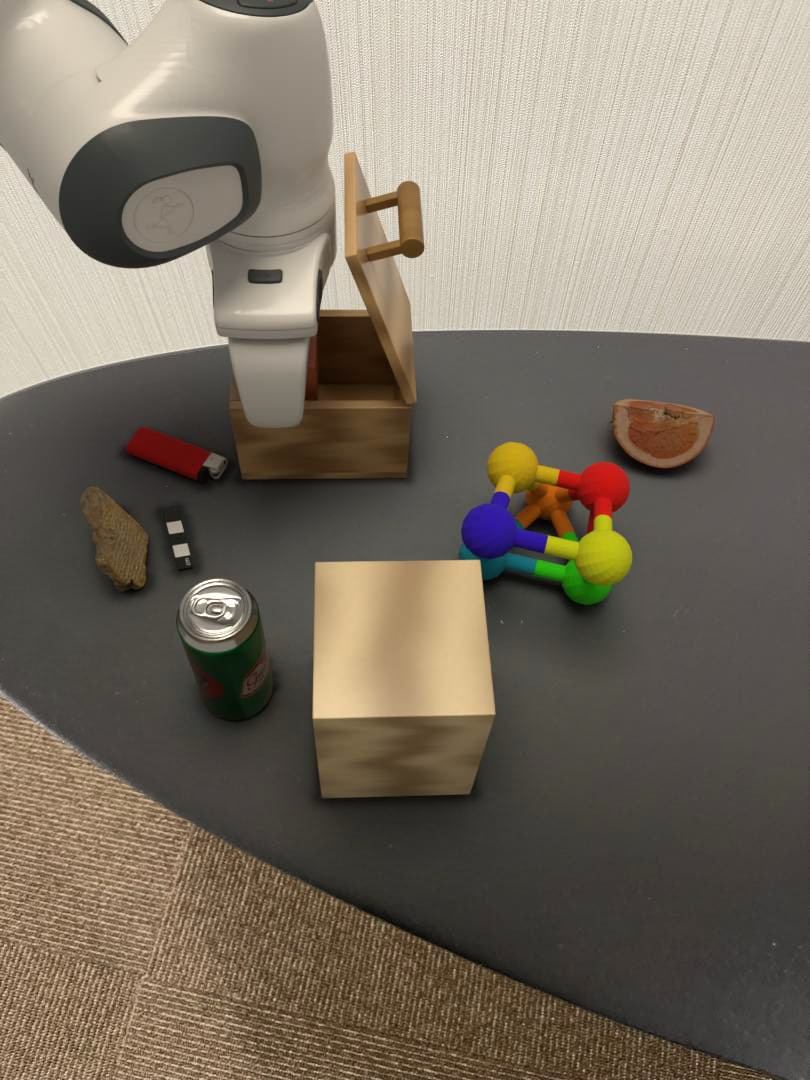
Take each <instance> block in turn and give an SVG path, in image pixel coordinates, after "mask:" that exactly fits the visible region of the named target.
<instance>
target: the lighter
mask: <svg viewBox="0 0 810 1080" xmlns="http://www.w3.org/2000/svg"><path fill="white" fill-rule="evenodd" d="M125 450H126V453H127V454H128V455H130V456H134V457H136V458H139V459H142V460H144V461H146V462H148V463H151V464H154V465H156V466H159V467H162V468H164V469H167V470H169V471H172V472H174V473H176V474H179V475H181V476H184V477H187V478H189V479H192V480H194V481H196V482H200V483H203V484H205V483H207V482H208V480H209V479H210V478H212V479H214V480H218V479H220V477H221V476H222V474H223V473H224V472H225V470H226V468H227V466H228V462H229V461H228V458H227V457H224V456H222V455H219V454H217V453H214V452H212V451H209V450H207V449H204V448H201V447H199V446H196V445H193V444H191V443H188V442H186V441H184V440H181V439H178V438H176V437H173V436H170V435H168V434H165V433H162V432H159V431H156V430H154V429H152V428H150V427H147V426H144V425H143V426H140V427H139V429H138V430H136V432H135V434H134V435H133V436H132V437H131V438H130V440H129V441H128V443H127V445H126V448H125Z"/></svg>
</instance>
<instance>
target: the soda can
mask: <svg viewBox="0 0 810 1080" xmlns="http://www.w3.org/2000/svg"><path fill="white" fill-rule="evenodd" d="M175 617H176V618H175V625H176V631H177V633H178V636H179V638H180V641H181V644H182V647H183V649H184V652H185V656H186V658H187V660H188V664H189V666H190V669H191V672H192V675H193V677H194V680H195V681H196V682H195V683H196V685H197V688H198V691H199V693H200V696H201V698H202V701H203V703H204V705H205V707H206V708H207V709H208V711H210V712H211V714H213V715H215V716H217V717H219V718H221V719H225V720H229V721H230V720H231V721H239V720H243V719H247V718H250V717H252V716H255V715H256V714H257V713H259V712H261V710H263V708H265V706H266V705H267V704H268V703H269V701H270V699H271V696H272V694H273V691H274V678H273V672H272V667H271V663H270V658H269V652H268V648H267V641H266V637H265V631H264V627H263V621H262V617H261V612H260V607H259V604H258V602H257V599H256V598H255V596H254V595H253V594H252V593H251V592H250V590H248V589H247V588H246V587H244V586H242V585H241V584H240V583H238V582H236V581H234V580H231V579H227V578H223V577H222V578H221V577H218V578H217V577H215V578H209V579H206V580H203V581H200V582H198V583H197V584H195V585H193V586H192V587H191V588H190V589H189V590H188V591H187V592H186V593H185V595H184V596H183V598H182V600H181V602H180V605H179V606H178V610H177V612H176V616H175Z"/></svg>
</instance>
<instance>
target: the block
mask: <svg viewBox="0 0 810 1080" xmlns="http://www.w3.org/2000/svg"><path fill="white" fill-rule="evenodd" d="M318 389H319V359H318V342H317V334H316V335H315V336H313V337H310V343H309V353H308V364H307V377H306V390H305V401H318Z"/></svg>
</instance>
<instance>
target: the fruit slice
mask: <svg viewBox="0 0 810 1080" xmlns="http://www.w3.org/2000/svg"><path fill="white" fill-rule="evenodd" d="M715 419H716V417H715V415H714V414H712V413H711V412H709V411H706V410H704V409H700V408H698V407H697V408H696V407H694V406H693V407H692V406H689V405H683V404H678V403H672V402H671V403H670V402H661V401H656V400H655V401H654V400H644V399H634V398H622V399H619V400H615V402H614V403H613V404H612V415H611V418H609V423H610V424H612V436H613V439H614V440H615V441H616V443H617V444H618V446H619V447H621V448H622V450H623V451H624V452H625V453H626V454H627V455H628V456H630V457H631V458H633V459H634V460H636V461H638V462H640V463H642V464H644V465H646V466H650V467H652V468H658V469H671V468H677V467H679V466H682V465H683V464H687V463H688V462H690V461H692V460H693V459H695V458H697V457H698V455H699V454H701V453H702V451H703V450H704V449H705V448H706V446H707V444H708V443H709V440H710V439H711V436H712V433H713V431H714V430H713V429H714V426H715V423H716V422H715Z"/></svg>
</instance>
